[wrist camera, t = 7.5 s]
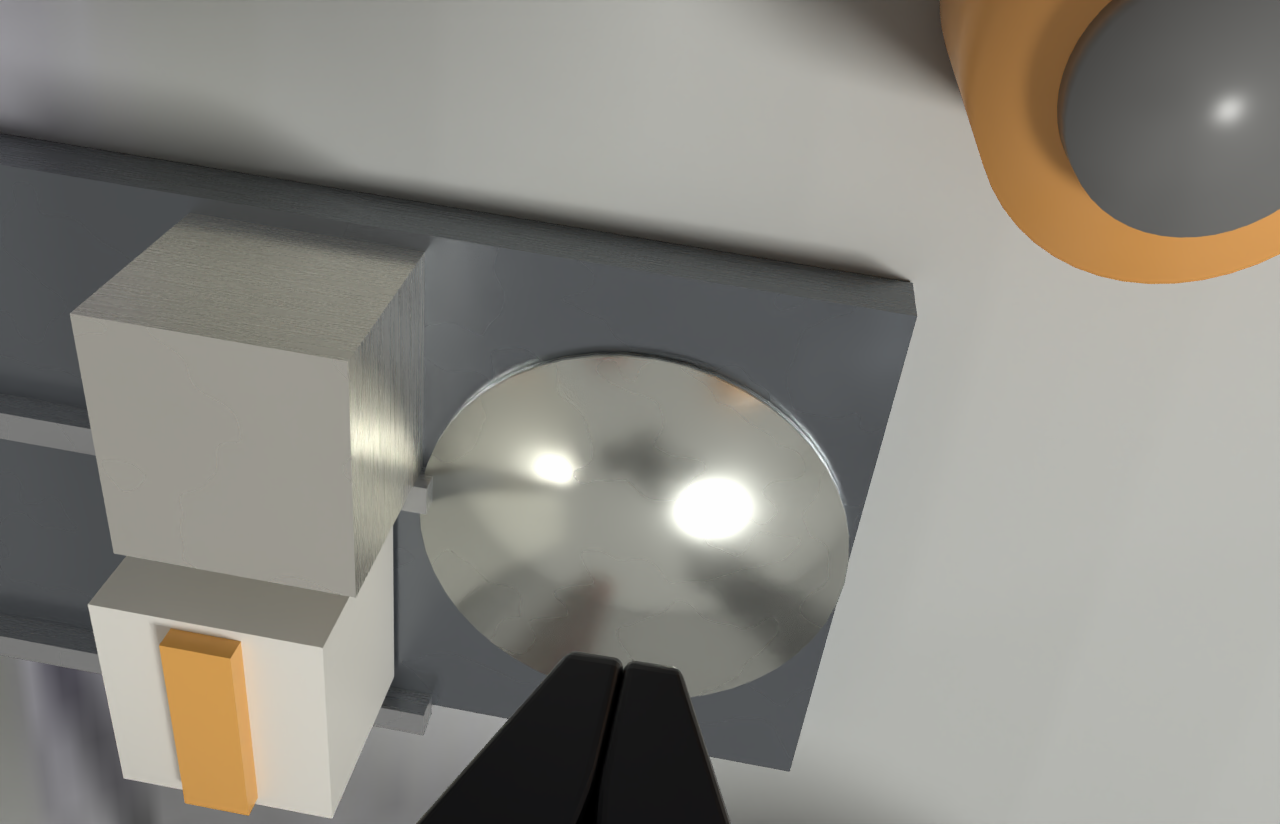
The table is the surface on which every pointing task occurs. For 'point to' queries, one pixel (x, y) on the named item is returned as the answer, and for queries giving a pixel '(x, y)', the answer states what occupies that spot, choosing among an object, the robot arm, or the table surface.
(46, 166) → the panel
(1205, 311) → the table surface
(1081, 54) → the cap
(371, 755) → the table surface
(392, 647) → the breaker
